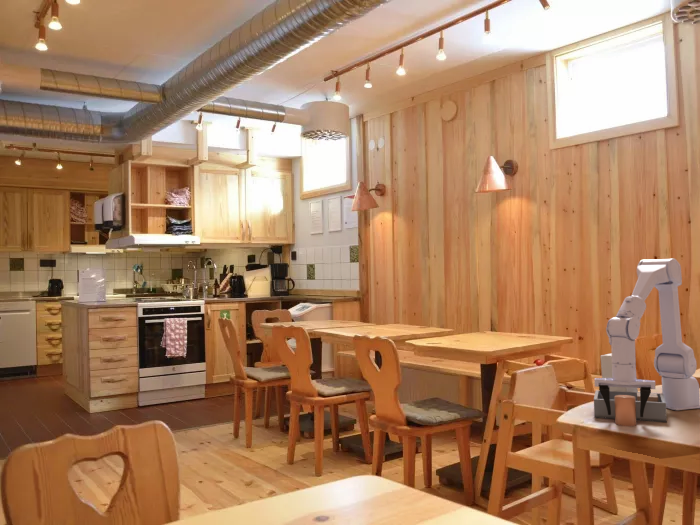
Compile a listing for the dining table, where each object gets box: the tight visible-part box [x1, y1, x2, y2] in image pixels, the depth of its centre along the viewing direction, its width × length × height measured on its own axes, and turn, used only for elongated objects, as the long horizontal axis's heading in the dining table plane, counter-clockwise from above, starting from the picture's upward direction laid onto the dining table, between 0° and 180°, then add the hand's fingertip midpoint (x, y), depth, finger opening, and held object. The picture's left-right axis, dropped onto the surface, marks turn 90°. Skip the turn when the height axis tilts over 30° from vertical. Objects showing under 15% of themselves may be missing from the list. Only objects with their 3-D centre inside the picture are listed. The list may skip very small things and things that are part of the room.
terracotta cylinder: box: [614, 395, 637, 427], centre depth 163 cm, size 5×5×7 cm
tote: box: [593, 389, 667, 423], centre depth 172 cm, size 18×14×5 cm
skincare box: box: [600, 352, 639, 392], centre depth 186 cm, size 8×6×15 cm
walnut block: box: [637, 393, 658, 402], centre depth 171 cm, size 5×5×5 cm
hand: (625, 415), depth 163 cm, fingers open, 7 cm apart
